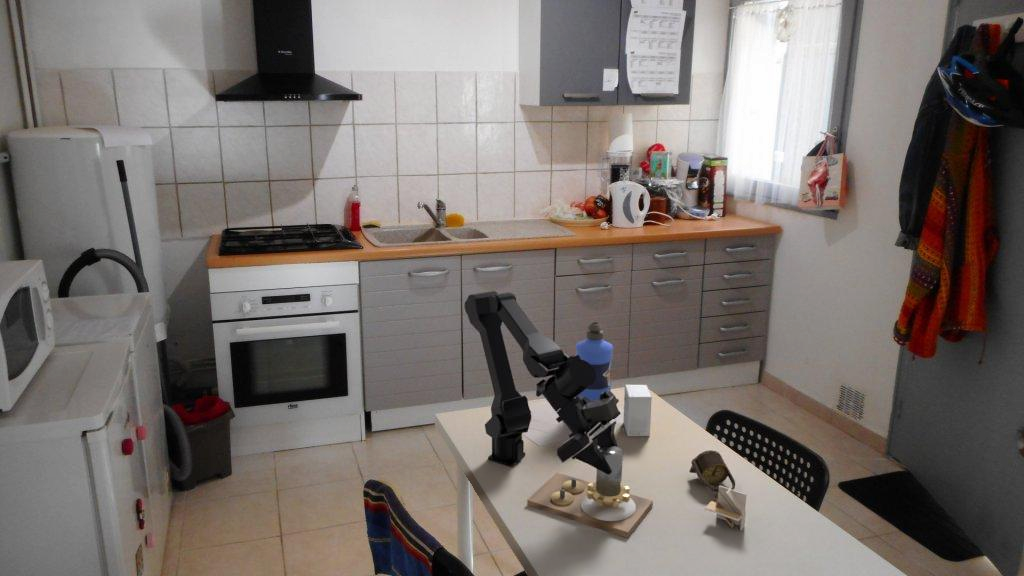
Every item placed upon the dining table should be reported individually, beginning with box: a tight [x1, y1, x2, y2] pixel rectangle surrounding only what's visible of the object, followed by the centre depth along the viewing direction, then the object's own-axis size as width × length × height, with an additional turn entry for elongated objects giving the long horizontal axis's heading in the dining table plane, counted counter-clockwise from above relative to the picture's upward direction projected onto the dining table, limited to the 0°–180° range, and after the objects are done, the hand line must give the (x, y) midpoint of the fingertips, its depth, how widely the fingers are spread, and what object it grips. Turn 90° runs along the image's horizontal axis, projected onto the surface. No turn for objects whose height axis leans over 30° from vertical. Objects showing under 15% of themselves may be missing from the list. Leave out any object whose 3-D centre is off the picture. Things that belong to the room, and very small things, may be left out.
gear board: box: [526, 472, 654, 539], centre depth 153 cm, size 22×13×3 cm, turn 59°
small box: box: [623, 384, 653, 437], centre depth 186 cm, size 8×6×10 cm
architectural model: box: [704, 484, 747, 532], centre depth 147 cm, size 3×7×7 cm, turn 53°
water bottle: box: [575, 321, 614, 402], centre depth 192 cm, size 9×9×25 cm
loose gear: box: [587, 445, 630, 507], centre depth 150 cm, size 9×9×10 cm
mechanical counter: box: [689, 450, 736, 501], centre depth 160 cm, size 7×13×10 cm
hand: (615, 467), depth 149 cm, fingers closed on loose gear, 5 cm apart
